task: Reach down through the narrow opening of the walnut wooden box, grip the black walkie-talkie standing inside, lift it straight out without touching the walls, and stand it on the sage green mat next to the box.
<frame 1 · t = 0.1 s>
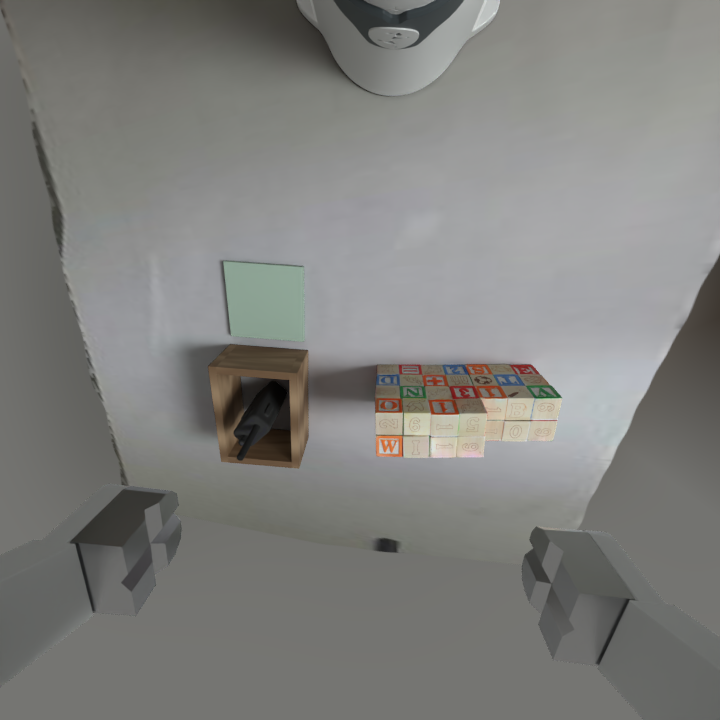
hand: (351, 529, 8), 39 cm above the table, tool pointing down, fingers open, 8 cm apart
stack of blocks: (451, 382, 50), on the table
place mat: (266, 302, 46), on the table
access box: (271, 393, 52), on the table
walkie-talkie: (272, 392, 53), resting in access box
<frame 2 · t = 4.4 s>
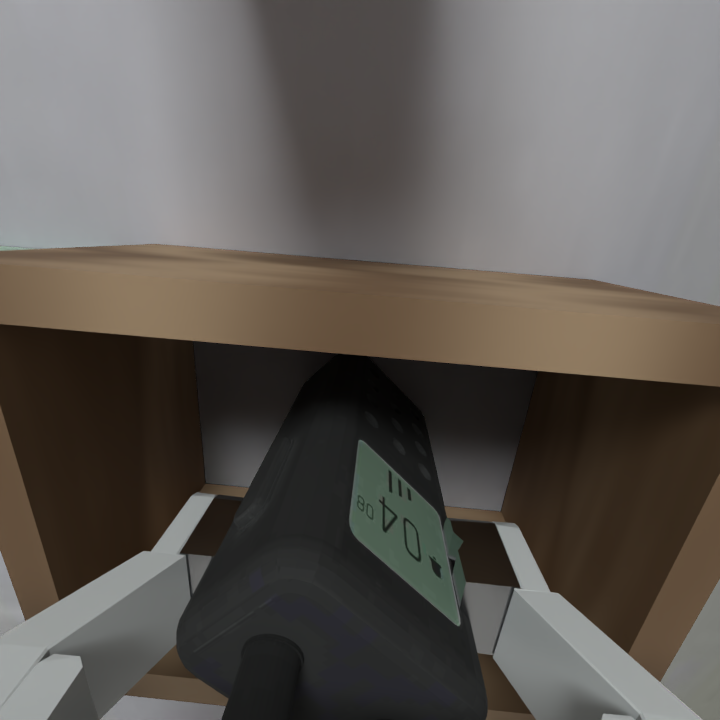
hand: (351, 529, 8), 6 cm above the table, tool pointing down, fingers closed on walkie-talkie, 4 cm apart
access box: (359, 405, 14), on the table
walkie-talkie: (360, 403, 14), resting in access box, touching gripper
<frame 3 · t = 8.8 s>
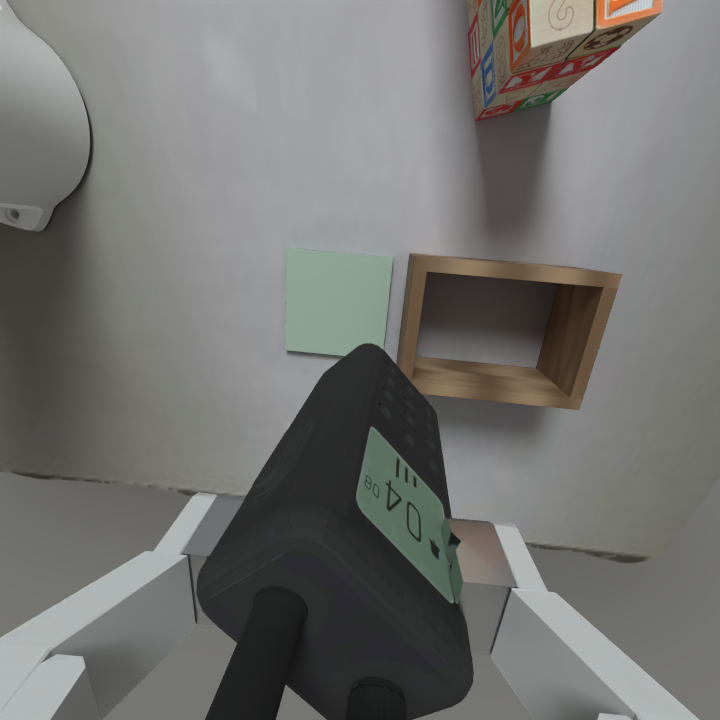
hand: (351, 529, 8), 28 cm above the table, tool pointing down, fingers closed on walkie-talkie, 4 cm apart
place mat: (337, 305, 35), on the table
access box: (479, 318, 34), on the table
walkie-talkie: (375, 396, 15), point 21 cm above the table, touching gripper
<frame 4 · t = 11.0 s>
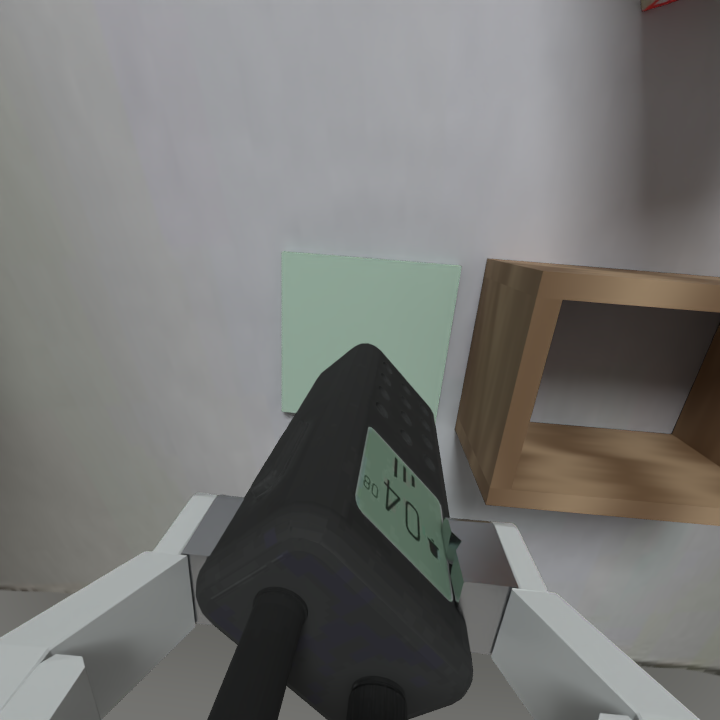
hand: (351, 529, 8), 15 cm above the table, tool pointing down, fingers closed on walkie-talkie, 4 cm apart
place mat: (364, 342, 22), on the table
access box: (592, 361, 22), on the table
walkie-talkie: (372, 396, 15), point 8 cm above the table, touching gripper
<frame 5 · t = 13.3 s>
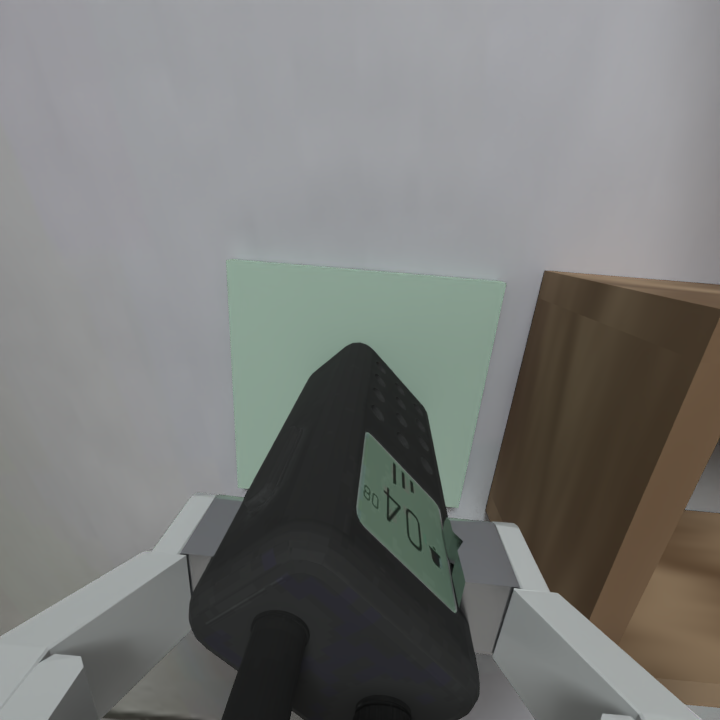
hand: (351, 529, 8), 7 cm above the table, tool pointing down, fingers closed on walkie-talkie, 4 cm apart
place mat: (356, 392, 15), on the table
access box: (692, 421, 15), on the table
walkie-talkie: (364, 396, 14), resting on place mat, touching gripper
when the fingers open (7 cm above the table, at t = 13.6 s): walkie-talkie stays where it is, resting on place mat.
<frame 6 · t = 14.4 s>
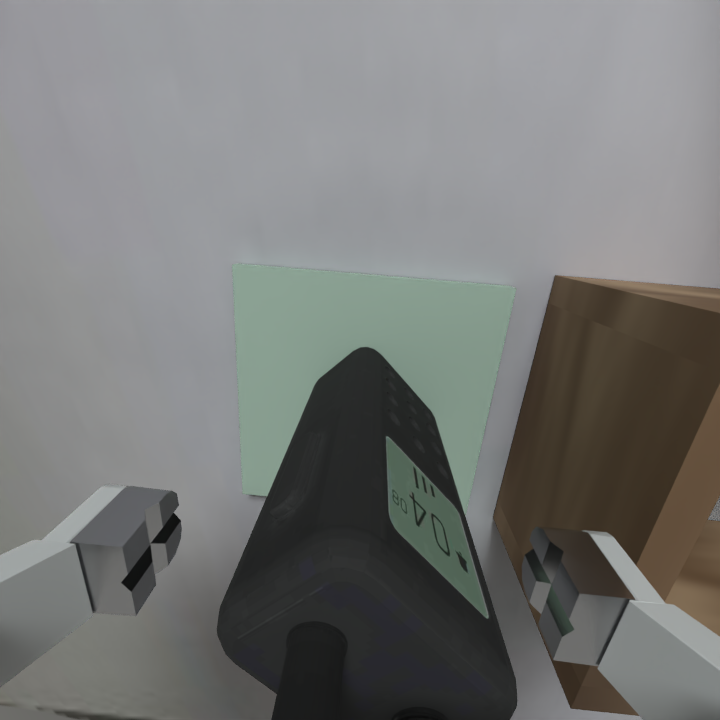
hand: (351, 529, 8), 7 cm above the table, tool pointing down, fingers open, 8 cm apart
place mat: (362, 397, 15), on the table
access box: (705, 428, 14), on the table
walkie-talkie: (371, 401, 14), resting on place mat
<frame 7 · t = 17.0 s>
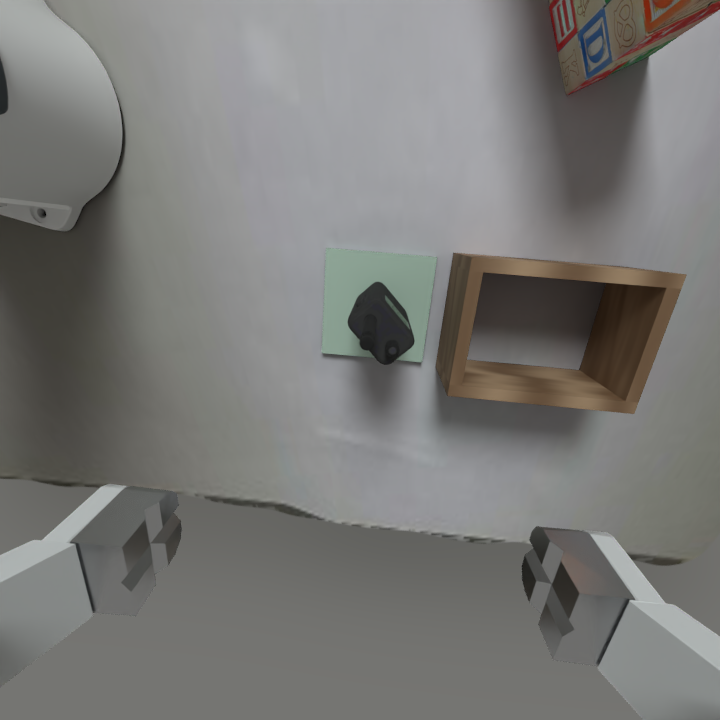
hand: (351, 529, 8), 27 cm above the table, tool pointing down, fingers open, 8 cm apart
place mat: (376, 306, 34), on the table
access box: (523, 319, 33), on the table
walkie-talkie: (380, 307, 33), resting on place mat
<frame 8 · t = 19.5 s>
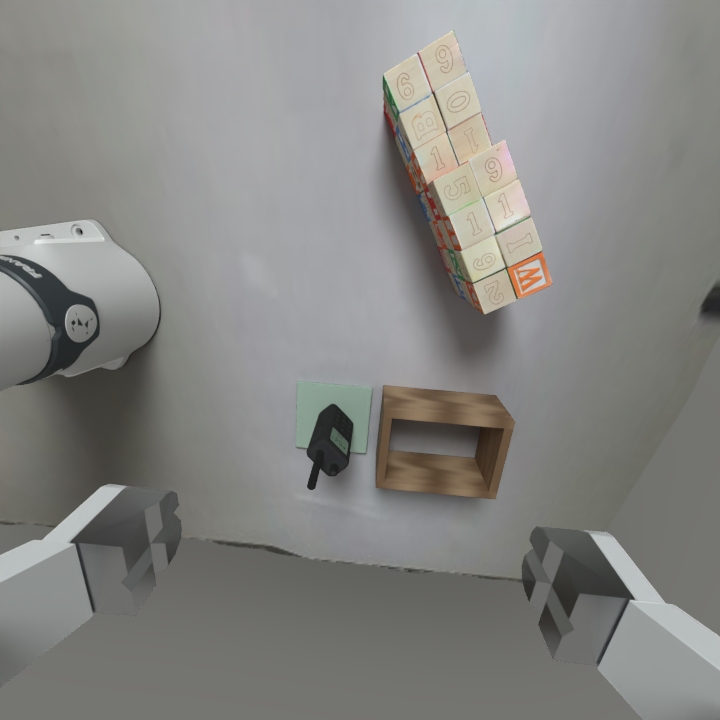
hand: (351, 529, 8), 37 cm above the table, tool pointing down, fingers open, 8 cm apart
stack of blocks: (447, 196, 39), on the table
place mat: (333, 417, 49), on the table
access box: (433, 426, 49), on the table
walkie-talkie: (335, 418, 49), resting on place mat
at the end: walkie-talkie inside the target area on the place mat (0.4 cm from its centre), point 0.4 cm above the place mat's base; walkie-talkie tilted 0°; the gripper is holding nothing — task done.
